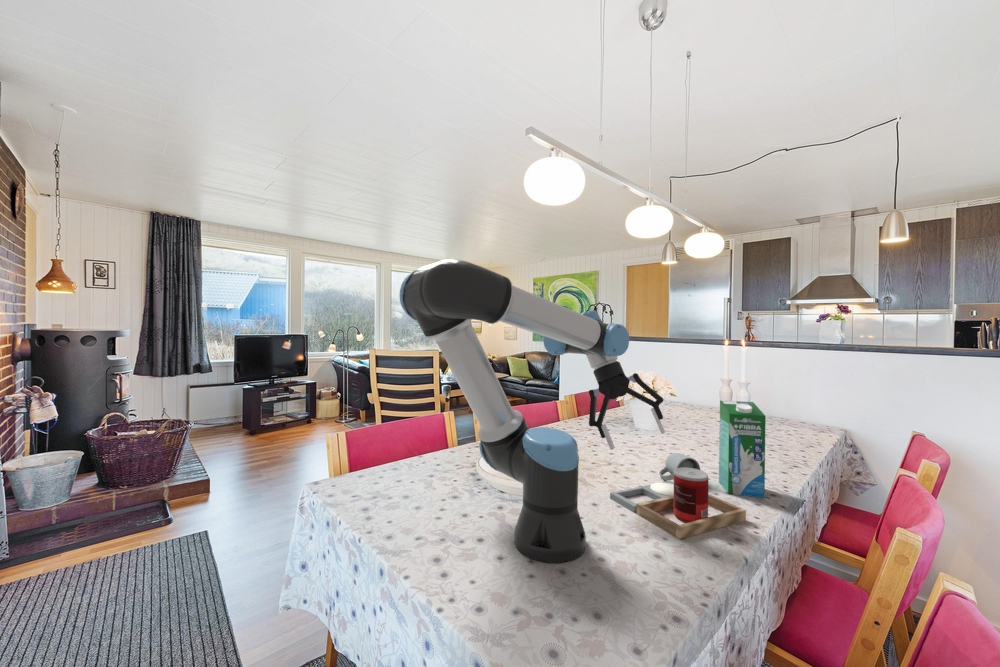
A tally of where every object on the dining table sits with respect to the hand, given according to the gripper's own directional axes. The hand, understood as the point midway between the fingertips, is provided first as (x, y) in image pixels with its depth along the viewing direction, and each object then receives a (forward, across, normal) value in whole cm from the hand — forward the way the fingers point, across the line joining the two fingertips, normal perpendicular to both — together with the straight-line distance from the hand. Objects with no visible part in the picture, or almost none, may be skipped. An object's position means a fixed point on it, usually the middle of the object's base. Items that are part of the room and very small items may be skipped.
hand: (637, 441), depth 103 cm
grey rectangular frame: (+16, +3, -8) cm, 19 cm away
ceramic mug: (+18, -3, -27) cm, 32 cm away
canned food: (+21, -4, 0) cm, 21 cm away
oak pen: (+21, -5, 0) cm, 21 cm away
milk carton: (+24, -18, -26) cm, 40 cm away
